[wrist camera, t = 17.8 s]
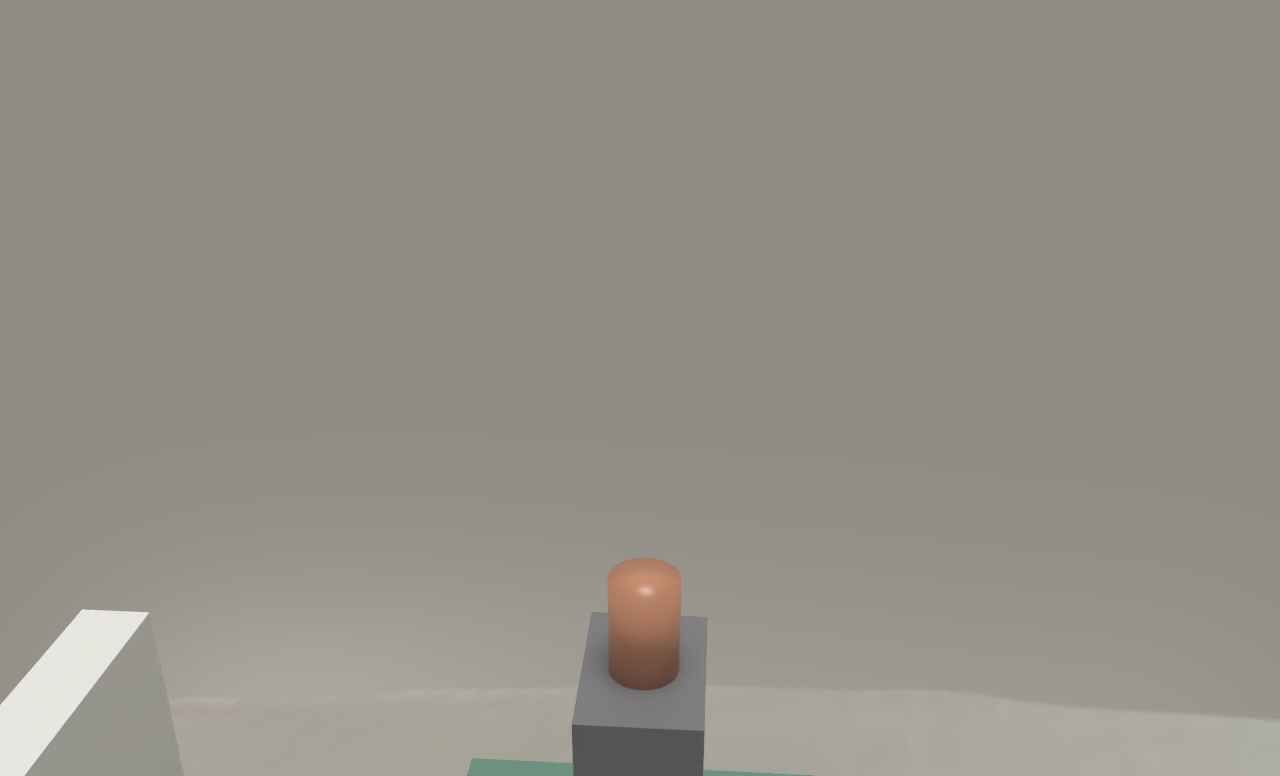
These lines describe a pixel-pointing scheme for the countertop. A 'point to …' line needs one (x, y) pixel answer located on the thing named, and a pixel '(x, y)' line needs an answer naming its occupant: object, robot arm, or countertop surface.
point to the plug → (642, 680)
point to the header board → (559, 769)
